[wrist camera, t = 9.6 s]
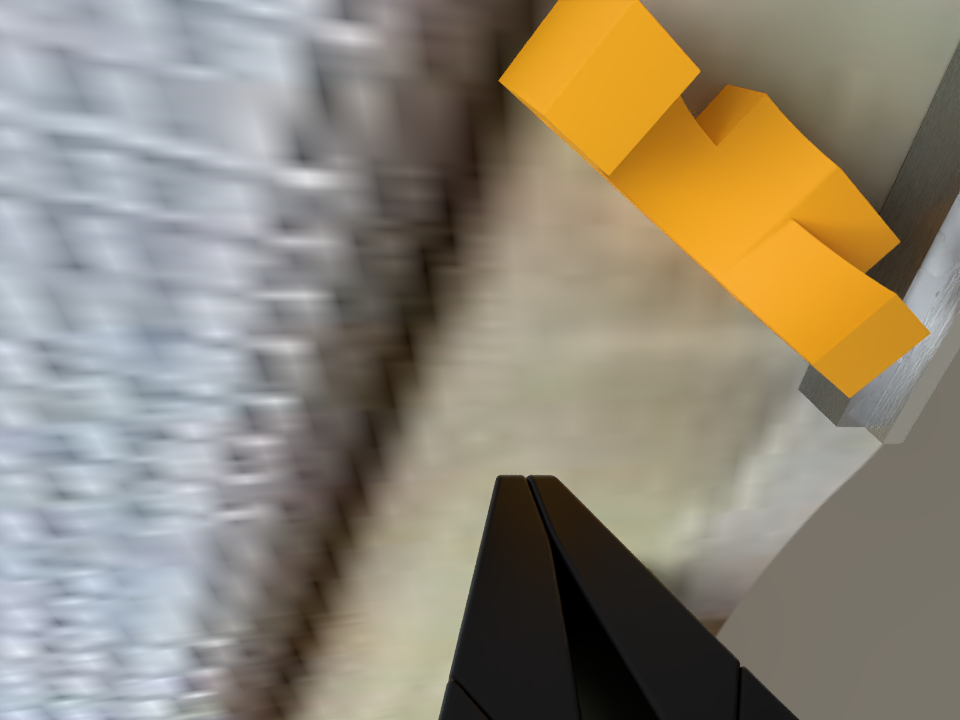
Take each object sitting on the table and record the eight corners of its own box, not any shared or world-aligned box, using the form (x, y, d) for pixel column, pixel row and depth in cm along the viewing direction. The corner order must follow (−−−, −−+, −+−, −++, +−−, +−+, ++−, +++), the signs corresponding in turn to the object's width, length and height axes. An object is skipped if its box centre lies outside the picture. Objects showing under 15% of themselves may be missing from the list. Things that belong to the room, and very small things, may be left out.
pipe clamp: (834, 210, 21) (991, 284, 15) (737, 300, 22) (849, 398, 17) (601, -59, 16) (708, -93, 10) (497, 80, 17) (543, 114, 12)
